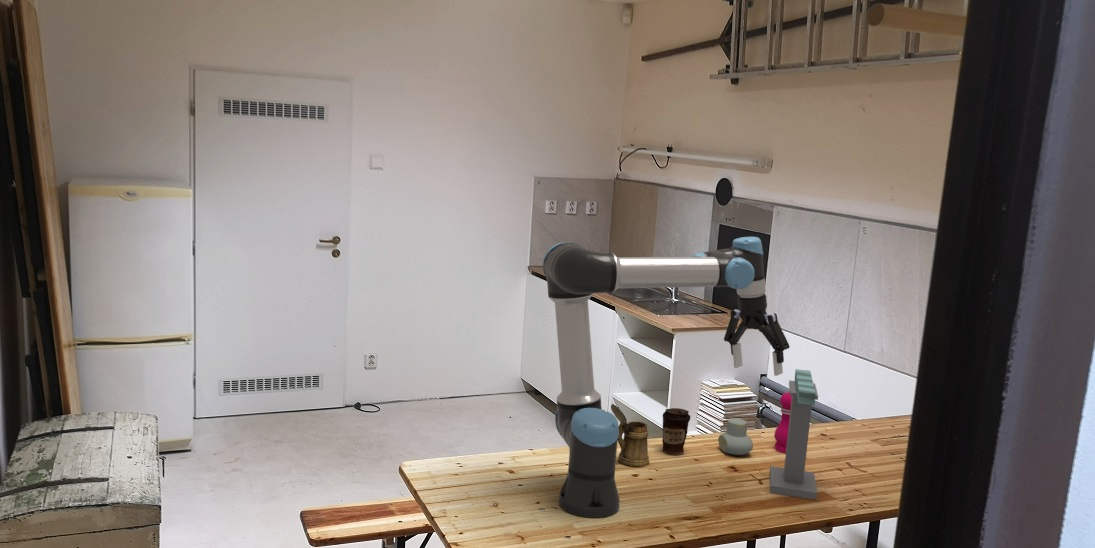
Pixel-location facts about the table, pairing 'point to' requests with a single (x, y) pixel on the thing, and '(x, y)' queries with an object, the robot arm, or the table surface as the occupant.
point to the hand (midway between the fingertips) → (758, 370)
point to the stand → (795, 454)
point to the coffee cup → (675, 430)
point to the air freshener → (736, 438)
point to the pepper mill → (783, 423)
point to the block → (804, 387)
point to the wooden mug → (632, 440)
